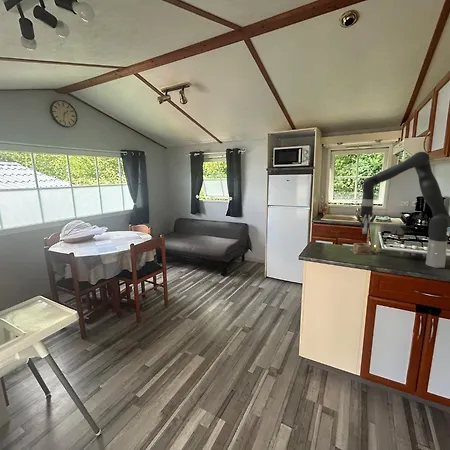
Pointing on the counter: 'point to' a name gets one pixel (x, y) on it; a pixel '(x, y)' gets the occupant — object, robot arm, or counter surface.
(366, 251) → the socket block
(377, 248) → the short brass pin
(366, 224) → the long steel pin
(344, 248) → the counter surface
